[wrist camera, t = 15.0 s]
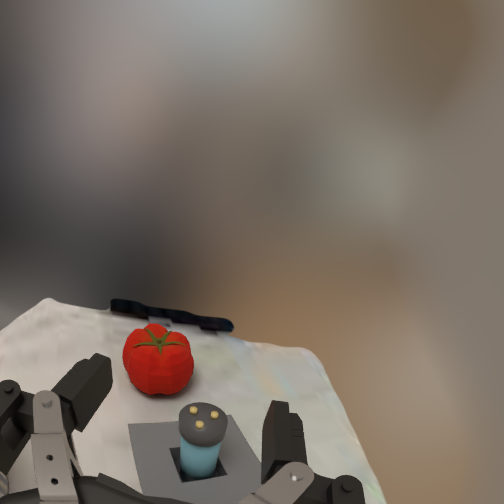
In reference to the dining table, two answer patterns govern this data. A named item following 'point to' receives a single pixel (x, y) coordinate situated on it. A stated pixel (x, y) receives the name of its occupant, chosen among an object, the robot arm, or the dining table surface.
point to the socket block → (168, 465)
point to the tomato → (158, 360)
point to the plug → (200, 440)
